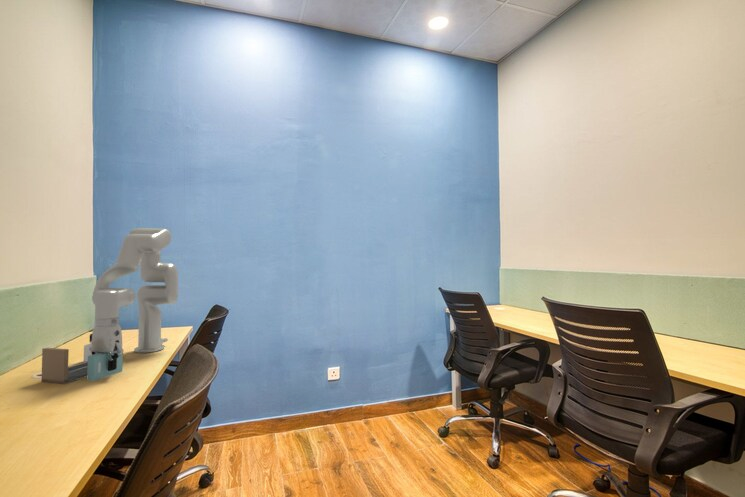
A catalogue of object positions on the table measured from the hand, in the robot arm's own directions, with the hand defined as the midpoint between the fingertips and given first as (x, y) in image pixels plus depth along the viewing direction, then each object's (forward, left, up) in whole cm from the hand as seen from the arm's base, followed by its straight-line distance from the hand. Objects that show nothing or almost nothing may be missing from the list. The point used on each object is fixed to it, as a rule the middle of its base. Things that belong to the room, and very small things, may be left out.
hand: (105, 369), depth 141 cm
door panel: (0, 0, -3) cm, 3 cm away
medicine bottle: (-16, -22, -3) cm, 27 cm away
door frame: (0, -11, -2) cm, 11 cm away
